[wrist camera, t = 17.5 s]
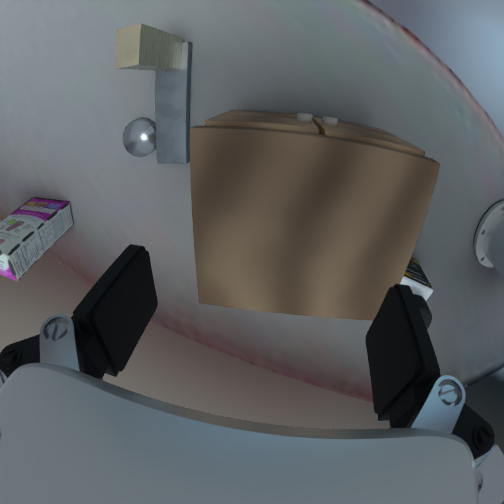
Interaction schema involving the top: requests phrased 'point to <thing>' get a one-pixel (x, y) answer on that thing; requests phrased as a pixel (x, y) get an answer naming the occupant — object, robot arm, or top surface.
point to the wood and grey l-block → (162, 84)
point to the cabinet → (304, 212)
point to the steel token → (140, 137)
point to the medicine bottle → (419, 288)
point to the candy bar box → (31, 234)
